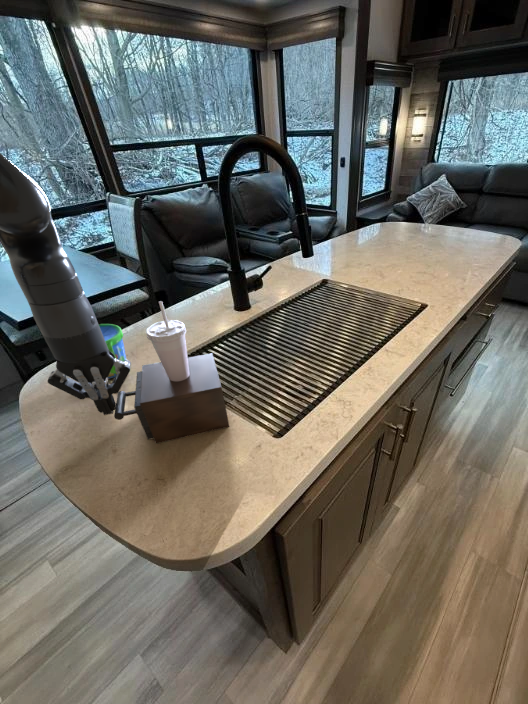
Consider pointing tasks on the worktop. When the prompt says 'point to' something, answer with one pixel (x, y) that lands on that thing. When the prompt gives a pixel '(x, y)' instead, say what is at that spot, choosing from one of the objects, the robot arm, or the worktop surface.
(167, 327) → the smoothie
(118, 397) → the drawer
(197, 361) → the cabinet
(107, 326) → the snack cup
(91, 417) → the worktop surface
